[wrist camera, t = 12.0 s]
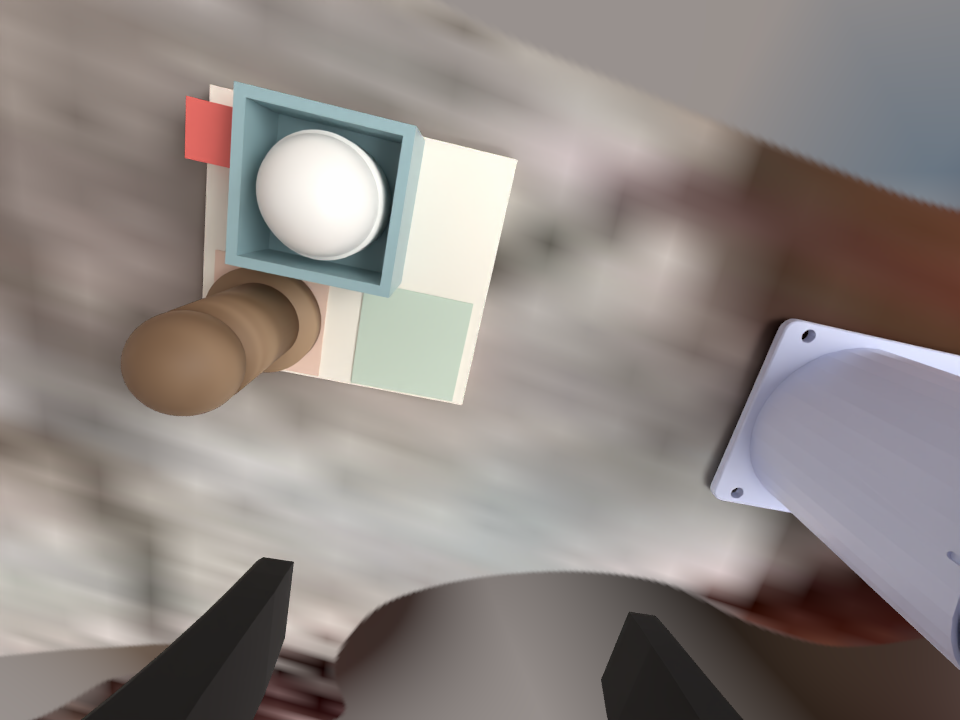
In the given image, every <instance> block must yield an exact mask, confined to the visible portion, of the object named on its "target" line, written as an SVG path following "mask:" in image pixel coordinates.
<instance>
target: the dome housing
mask: <svg viewBox="0 0 960 720" xmlns="http://www.w3.org/2000/svg"><path fill="white" fill-rule="evenodd" d="M302 130H323V131H328V132H332V133H335V134H337V135H339V136H342V137H344V138H346V139H347V140H349V141H351V142H353V143H354V144H356V145H358V146H359V147H361V148H362V149H364V150H365V151H366V152H368V153H369V154H370V155H371V156H372V157H373V158H374V159H375V160H376V161H377V163H378V164H379V165H380V167H381V169H382V170H383V172H384V174H385V176H386V179H387V181H388V184H389V188H390V193H391V212H390V216H389V220H388V223H387V225H386V227H385V229H384V231H383V232H382V234H381V235H380V237H379V238H378V239H377V240H376V241H375V242H374V243H373V244H371V245H370V246H369V247H367V248H365V249H364V250H362V251H359V252H357V253H355V254H352V255H350V256H347V257H345V258H341V259H338V260H316V259H311V258H308V257H305V256H302V255H300V254H298V253H296V252H294V251H293V250H291V249H290V248H288V247H287V246H285V245H284V244H283V243H282V242H281V241H280V240H279V239H278V238H277V237H276V236H275V235H274V234H273V232H272V231H271V230H270V228H269V227H268V225H267V224H266V222H265V221H264V219H263V217H262V215H261V212H260V210H259V206H258V202H257V197H256V180H257V175H258V171H259V168H260V166H261V163H262V161H263V160H264V158H265V156H266V155H267V153H268V152H269V151H270V149H271V148H272V147H273V146H274V145H275V144H276V143H277V142H278V141H280V140H281V139H283V138H284V137H286V136H288V135H290V134H292V133H295V132H298V131H302ZM424 145H425V140H424V138H423V136H422V135H421V133H420V131H419V129H418V128H417V126H414V125H410V124H406V123H402V122H398V121H394V120H390V119H386V118H382V117H378V116H374V115H370V114H366V113H361V112H357V111H353V110H349V109H345V108H341V107H337V106H333V105H329V104H325V103H321V102H317V101H313V100H309V99H305V98H301V97H297V96H293V95H289V94H285V93H281V92H277V91H273V90H269V89H265V88H260V87H256V86H252V85H248V84H244V83H240V82H236V81H234V91H233V112H232V132H231V152H230V173H229V193H228V213H227V233H226V254H225V264H228V265H233V266H238V267H242V268H247V269H252V270H257V271H262V272H266V273H271V274H276V275H281V276H285V277H290V278H295V279H300V280H305V281H309V282H314V283H319V284H324V285H329V286H333V287H338V288H343V289H348V290H352V291H357V292H362V293H367V294H372V295H376V296H381V297H386V298H389V297H390V296H391V295H392V294H393V292H394V291H395V290H396V289H397V288H398V286H399V285H400V284H401V282H402V276H403V270H404V264H405V258H406V252H407V246H408V240H409V234H410V228H411V222H412V216H413V210H414V204H415V198H416V192H417V186H418V180H419V174H420V169H421V163H422V157H423V151H424Z"/></svg>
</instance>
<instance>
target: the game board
mask: <svg viewBox="0 0 960 720" xmlns="http://www.w3.org/2000/svg"><path fill="white" fill-rule="evenodd" d="M233 91H234V90H231V89H227V88H223V87H219V86H215V85H211V84H210V97H209V101H205V100H201V99H197V98H193V97H189V96H186V123H185V158H187V159H192V160H196V161H200V162H205V163H207V183H206V211H205V239H204V268H203V296H202V299H203V298H206V296H207V294H208V291H209V290H210V288H211V287H212V285H213V284H214V283H215V282H216V281H217V280H218V279H219V278H220V277H221V276H223V275H224V274H226V273H228V272H230V271H232V270H235V269H238V268H242V267H238V266H233V265H228V264H225V254H226V233H227V213H228V193H229V173H230V152H231V132H232V112H233ZM423 138H424V140H425V145H424V151H423V157H422V163H421V169H420V174H419V180H418V186H417V192H416V198H415V204H414V210H413V216H412V222H411V228H410V234H409V240H408V246H407V252H406V258H405V264H404V270H403V276H402V282H401V284H400V285H399V286H398V288H397V289H396V290H395V291H394V292H393V294H392V295H391V296H390V297H389V298H386V297H381V296H376V295H372V294H367V293H362V292H357V291H352V290H348V289H343V288H338V287H333V286H329V285H324V284H319V283H314V282H309V281H305V280H302V281H303V282H304V283H305V284H306V285H307V286H308V287H309V288H310V290H311V291H312V293H313V294H314V296H315V298H316V300H317V302H318V305H319V308H320V313H321V330H320V334H319V337H318V339H317V341H316V343H315V345H314V346H313V348H312V349H311V350H310V351H309V352H308V353H307V354H306V355H305V356H304V357H303V358H302V359H301V360H300V361H299V362H297V363H296V364H294V365H293V366H291V367H289V368H287V369H284V370H281V371H284V372H289V373H295V374H300V375H305V376H310V377H316V378H321V379H326V380H332V381H337V382H342V383H347V384H353V385H358V386H363V387H369V388H374V389H379V390H385V391H390V392H395V393H400V394H406V395H411V396H416V397H422V398H427V399H432V400H437V401H443V402H448V403H453V404H459V405H462V402H463V398H464V394H465V389H466V385H467V380H468V376H469V372H470V367H471V363H472V358H473V354H474V350H475V345H476V341H477V336H478V332H479V328H480V323H481V319H482V314H483V310H484V306H485V301H486V297H487V292H488V288H489V284H490V279H491V275H492V270H493V266H494V262H495V257H496V253H497V248H498V244H499V239H500V235H501V231H502V226H503V222H504V217H505V213H506V209H507V204H508V200H509V195H510V191H511V187H512V182H513V178H514V173H515V169H516V165H517V160H516V159H512V158H508V157H504V156H500V155H496V154H492V153H487V152H483V151H479V150H475V149H471V148H467V147H463V146H459V145H455V144H451V143H447V142H443V141H439V140H435V139H430V138H426V137H423Z"/></svg>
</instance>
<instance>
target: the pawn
mask: <svg viewBox="0 0 960 720" xmlns="http://www.w3.org/2000/svg"><path fill="white" fill-rule="evenodd" d="M320 330H321V313H320V308H319V305H318V302H317V300H316V298H315V296H314V294H313V293H312V291H311V290H310V288H309V287H308V286H307V285H306V284H305V283H304V282H303V281H302V280H300V279H295V278H290V277H285V276H281V275H276V274H271V273H266V272H262V271H257V270H252V269H247V268H238V269H235V270H232V271H230V272H228V273H226V274H224V275H223V276H221V277H220V278H219V279H218V280H217V281H216V282H215V283H214V284H213V285H212V287H211V288H210V290H209V291H208V294H207V296H206V298H203V299H200V300H198V301H195V302H192V303H189V304H187V305H184V306H181V307H179V308H176V309H173V310H171V311H169V312H167V313H163V314H159V315H157V316H154V317H152V318H150V319H149V320H147V321H145V322H144V323H142V324H141V325H140V326H139V327H138V328H136V329H135V330H134V332H133V333H132V334H131V335H130V337H129V338H128V340H127V341H126V343H125V346H124V348H123V351H122V355H121V372H122V376H123V379H124V382H125V383H126V385H127V387H128V389H129V390H130V392H131V393H132V394H133V395H134V396H135V397H136V398H137V399H138V400H139V401H140V402H141V403H143V404H144V405H146V406H147V407H149V408H151V409H153V410H155V411H158V412H160V413H164V414H168V415H174V416H193V415H198V414H203V413H206V412H209V411H211V410H214V409H216V408H218V407H220V406H221V405H223V404H224V403H225V402H227V401H228V400H229V399H230V398H231V397H232V396H233V395H235V394H236V393H237V392H239V391H240V390H241V389H242V388H244V387H245V386H246V385H247V384H249V383H250V382H251V381H252V380H253V379H255V378H256V377H257V376H258V375H259V374H261V373H262V372H276V371H281V370H284V369H287V368H289V367H291V366H293V365H294V364H296V363H297V362H299V361H300V360H301V359H302V358H303V357H304V356H305V355H306V354H307V353H308V352H309V351H310V350H311V349H312V348H313V346H314V345H315V343H316V341H317V339H318V337H319V334H320Z"/></svg>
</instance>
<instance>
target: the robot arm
mask: <svg viewBox="0 0 960 720" xmlns="http://www.w3.org/2000/svg"><path fill="white" fill-rule="evenodd" d="M807 330H808V335H807V337H806V338H805V339H803V340H802V335H803V333H804V332H805V331H807ZM735 488H738V489H737V490H736V491H735V492H733V493H731V492H732V490H733V489H735ZM710 489H711V492H712V493H713V495H714V496H715V497H716V498H717V499H719V500H722V501H728V502H734V503H739V504H745V505H750V506H756V507H762V508H767V509H773V510H779V511H784V512H790V513H792V514H793V515H795V516H796V517H797V518H798V519H799V520H800V521H801V522H802V523H803V524H804V525H805V526H806V527H807V528H808V529H810V530H811V531H812V532H813V533H814V534H815V535H816V536H817V537H818V538H819V539H820V540H821V541H822V542H823V543H824V544H826V545H827V546H828V547H829V548H830V549H831V550H832V551H833V552H834V553H835V554H836V555H837V556H838V557H839V558H841V559H842V560H843V561H844V562H845V563H846V564H847V565H848V566H849V567H850V568H851V569H852V570H853V571H854V572H855V573H857V574H858V575H859V576H860V577H861V578H862V579H863V580H864V581H865V582H866V583H867V584H868V585H869V586H870V587H872V588H873V589H874V590H875V591H876V592H877V593H878V594H879V595H880V596H881V597H882V598H883V599H884V600H885V601H887V602H888V603H889V604H890V605H891V606H892V607H893V608H894V609H895V610H896V611H897V612H898V613H899V614H900V615H901V616H903V617H904V618H905V619H906V620H907V621H908V622H909V623H910V624H911V625H912V626H913V627H914V628H915V629H916V630H918V631H919V632H920V633H921V634H922V635H923V636H924V637H925V638H926V639H927V640H928V641H929V642H930V643H931V644H932V645H934V646H935V647H936V648H937V649H938V650H939V651H940V652H941V653H942V654H943V655H944V656H945V657H946V658H947V659H949V660H950V661H951V662H952V663H953V664H954V665H955V666H956V667H957V668H958V669H959V670H960V355H956V354H951V353H947V352H942V351H938V350H933V349H929V348H924V347H920V346H916V345H911V344H907V343H902V342H898V341H893V340H889V339H884V338H880V337H875V336H871V335H866V334H862V333H858V332H853V331H849V330H844V329H840V328H835V327H831V326H826V325H822V324H817V323H813V322H809V321H804V320H800V319H789V320H786V321H785V322H783V323H782V324H781V326H780V327H779V329H778V331H777V333H776V336H775V338H774V340H773V342H772V345H771V347H770V349H769V352H768V354H767V356H766V359H765V361H764V363H763V366H762V368H761V370H760V372H759V375H758V377H757V379H756V382H755V384H754V386H753V389H752V391H751V393H750V395H749V398H748V400H747V402H746V405H745V407H744V409H743V412H742V414H741V416H740V419H739V421H738V423H737V425H736V428H735V430H734V432H733V435H732V437H731V439H730V442H729V444H728V446H727V449H726V451H725V453H724V455H723V458H722V460H721V462H720V465H719V467H718V469H717V472H716V474H715V476H714V479H713V481H712V483H711V487H710ZM293 564H294V562H292V561H285V560H278V559H272V558H265V557H263V558H261V559H260V560H258V561H257V562H256V563H255V564H254V565H253V566H252V567H251V568H250V569H249V570H248V571H247V572H246V573H245V574H244V575H243V576H242V577H241V578H240V579H239V580H238V581H237V582H236V583H235V584H234V585H233V586H232V587H231V588H230V589H229V590H228V591H227V592H226V593H225V594H224V595H223V596H222V597H221V598H220V599H219V600H218V601H217V602H216V603H215V604H214V605H213V606H212V607H211V608H210V609H209V610H208V611H207V612H206V613H205V614H204V615H203V616H201V617H200V618H199V619H198V620H197V621H196V622H195V623H194V624H193V625H192V626H191V627H189V628H188V629H187V630H186V631H185V632H184V633H183V634H182V635H181V636H180V637H179V638H177V639H176V640H175V641H174V642H173V643H172V644H171V645H170V646H169V647H168V648H166V649H165V650H164V651H163V652H162V653H161V654H160V655H159V656H158V657H157V658H155V659H154V660H153V661H152V662H150V663H149V664H148V665H147V666H146V667H144V668H143V669H142V670H141V671H140V672H139V673H137V674H136V675H135V676H134V677H133V678H131V679H130V680H129V681H128V682H127V683H126V684H124V685H123V686H122V687H121V688H120V689H118V690H117V691H116V692H115V693H114V694H113V695H111V696H110V697H109V698H108V699H106V700H105V701H104V702H103V703H102V704H100V705H99V706H98V707H97V708H95V709H94V710H93V711H92V712H90V713H89V714H88V715H87V716H85V717H84V718H83V719H82V720H253V718H254V716H255V714H256V712H257V710H258V707H259V705H260V703H261V701H262V699H263V696H264V694H265V691H266V689H267V686H268V683H269V681H270V678H271V675H272V672H273V670H274V667H275V664H276V661H277V658H278V656H279V653H280V650H281V647H282V644H283V641H284V639H285V632H286V624H287V615H288V607H289V598H290V590H291V581H292V573H293ZM601 682H602V688H603V694H604V700H605V707H606V713H607V718H608V720H743V719H742V718H741V716H740V715H739V714H738V713H737V712H736V711H735V710H734V708H733V707H732V706H731V705H730V704H729V702H728V701H727V700H726V699H725V698H724V697H723V695H722V694H721V693H720V692H719V691H718V690H717V688H716V687H715V686H714V685H713V684H712V683H711V681H710V680H709V679H708V678H707V676H706V675H705V674H704V673H703V672H702V670H701V669H700V668H699V667H698V666H697V665H696V663H695V662H694V661H693V660H692V658H691V657H690V656H689V655H688V653H687V652H686V651H685V650H684V649H683V648H682V646H681V645H680V644H679V643H678V642H677V640H676V639H675V638H674V637H673V636H672V634H671V633H670V632H669V631H668V630H667V628H665V626H664V625H663V624H662V623H661V622H660V620H659V619H658V618H657V617H656V616H653V615H647V614H640V613H633V612H629V613H628V616H627V618H626V620H625V623H624V625H623V628H622V630H621V633H620V635H619V637H618V640H617V643H616V645H615V647H614V650H613V652H612V655H611V657H610V660H609V662H608V664H607V667H606V669H605V672H604V674H603V676H602V679H601Z"/></svg>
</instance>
